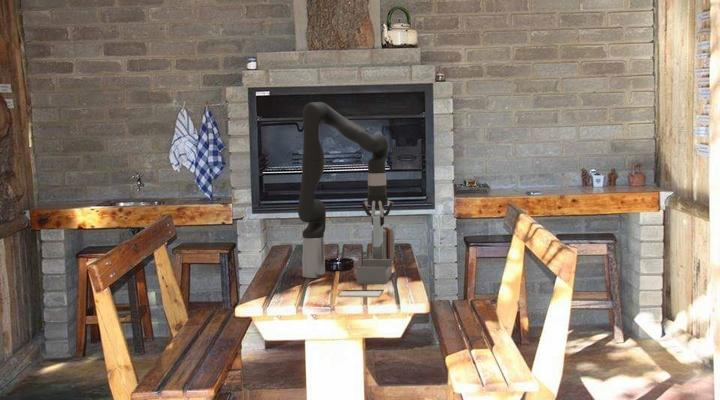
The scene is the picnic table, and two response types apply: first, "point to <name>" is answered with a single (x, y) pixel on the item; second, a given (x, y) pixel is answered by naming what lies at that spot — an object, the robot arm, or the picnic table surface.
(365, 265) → the rack
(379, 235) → the grey flat slab
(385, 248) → the decorative stone tablet
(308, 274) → the robot arm
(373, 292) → the mat
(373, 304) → the picnic table surface
